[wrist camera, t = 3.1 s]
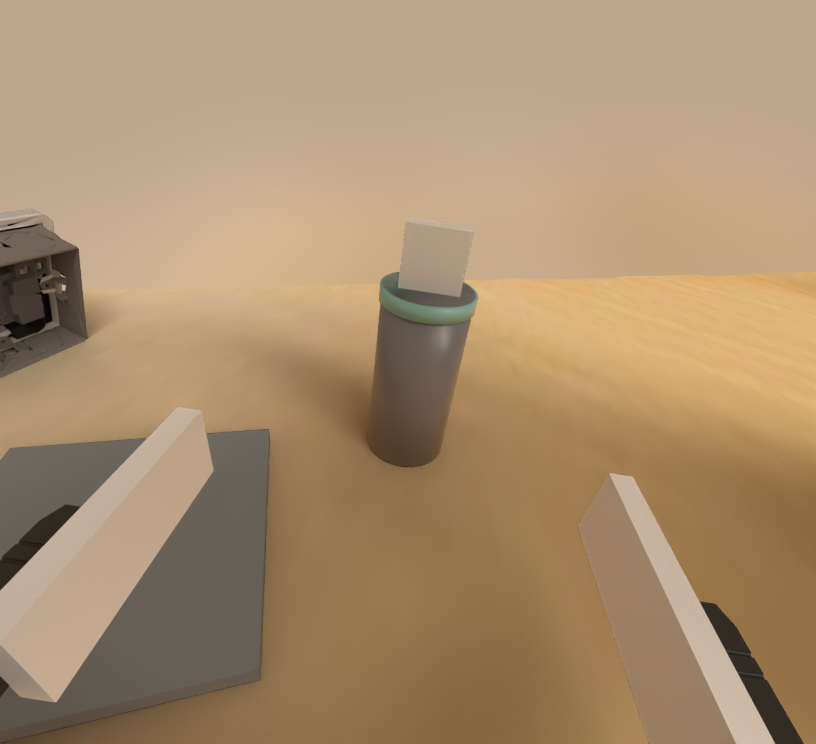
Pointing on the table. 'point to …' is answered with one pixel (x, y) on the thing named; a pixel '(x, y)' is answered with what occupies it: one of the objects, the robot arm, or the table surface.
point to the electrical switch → (37, 290)
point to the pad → (154, 582)
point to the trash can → (420, 342)
